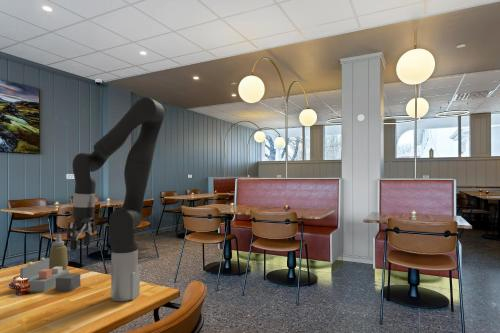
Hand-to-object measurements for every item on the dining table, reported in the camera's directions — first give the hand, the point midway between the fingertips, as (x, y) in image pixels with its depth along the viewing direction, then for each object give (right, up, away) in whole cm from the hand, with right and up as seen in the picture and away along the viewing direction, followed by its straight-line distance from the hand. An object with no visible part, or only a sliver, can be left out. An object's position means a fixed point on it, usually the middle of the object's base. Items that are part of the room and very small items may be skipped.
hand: (80, 247), depth 120 cm
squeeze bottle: (-25, -19, +27) cm, 42 cm away
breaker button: (-18, -15, +8) cm, 25 cm away
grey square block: (-8, -18, +6) cm, 21 cm away
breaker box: (-20, -18, +11) cm, 29 cm away
